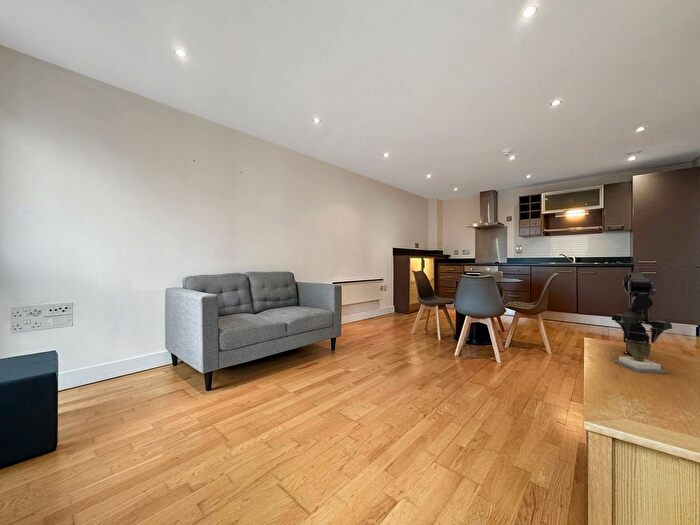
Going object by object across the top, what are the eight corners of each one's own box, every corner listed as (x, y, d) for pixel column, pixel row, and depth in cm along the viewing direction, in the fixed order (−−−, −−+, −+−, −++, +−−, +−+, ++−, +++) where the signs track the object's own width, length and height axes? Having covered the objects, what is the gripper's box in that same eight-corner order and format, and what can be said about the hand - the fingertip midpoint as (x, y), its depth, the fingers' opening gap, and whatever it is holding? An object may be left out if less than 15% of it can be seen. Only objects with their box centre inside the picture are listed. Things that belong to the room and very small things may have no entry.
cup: (639, 357, 124) (639, 340, 124) (656, 363, 117) (656, 345, 117) (622, 357, 125) (622, 339, 125) (637, 362, 118) (637, 344, 118)
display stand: (613, 362, 127) (613, 355, 127) (639, 363, 126) (639, 356, 126) (638, 372, 115) (638, 364, 115) (667, 373, 114) (667, 366, 114)
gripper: (603, 303, 131) (603, 335, 131) (654, 310, 113) (654, 347, 113) (620, 302, 134) (619, 334, 134) (673, 309, 115) (672, 345, 116)
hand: (639, 339), depth 124 cm, fingers open, 9 cm apart
